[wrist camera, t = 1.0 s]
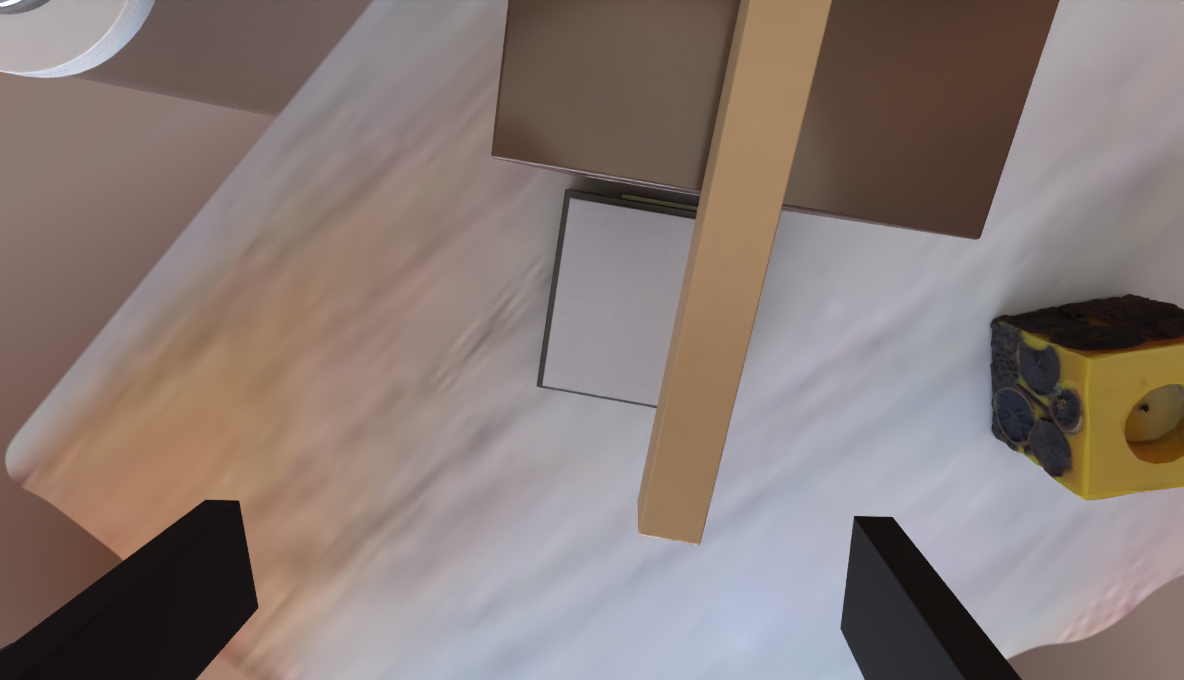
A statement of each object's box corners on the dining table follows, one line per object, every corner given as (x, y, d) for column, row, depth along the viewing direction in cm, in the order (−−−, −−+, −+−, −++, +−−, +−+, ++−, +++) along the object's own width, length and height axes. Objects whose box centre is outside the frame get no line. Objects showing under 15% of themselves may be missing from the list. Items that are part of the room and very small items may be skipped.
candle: (1133, 292, 43) (1279, 322, 33) (1128, 419, 45) (1263, 482, 36) (986, 315, 44) (1086, 350, 34) (989, 438, 46) (1084, 504, 37)
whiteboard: (569, 184, 43) (564, 184, 40) (756, 216, 43) (765, 218, 40) (540, 377, 47) (534, 390, 44) (711, 407, 47) (717, 423, 44)
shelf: (616, -35, 40) (579, -639, 11) (792, -6, 39) (1245, -546, 10) (584, 177, 43) (490, 157, 14) (744, 204, 43) (981, 240, 14)
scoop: (724, -505, 11) (766, -814, 8) (1044, -459, 11) (1231, -752, 7) (559, 488, 16) (541, 566, 13) (771, 526, 16) (808, 615, 13)
